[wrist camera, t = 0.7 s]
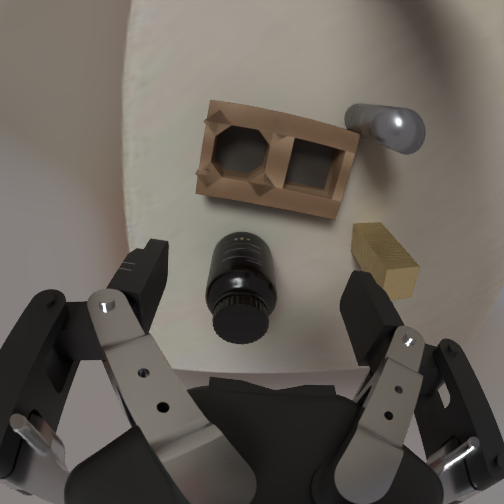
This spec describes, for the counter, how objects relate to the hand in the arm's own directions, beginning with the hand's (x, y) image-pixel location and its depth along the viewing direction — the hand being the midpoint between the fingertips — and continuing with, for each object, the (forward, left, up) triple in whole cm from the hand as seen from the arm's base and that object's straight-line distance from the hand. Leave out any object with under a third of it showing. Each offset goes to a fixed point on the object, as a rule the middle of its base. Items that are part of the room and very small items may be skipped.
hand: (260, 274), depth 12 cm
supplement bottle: (+10, +1, -20) cm, 22 cm away
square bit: (+5, +15, -20) cm, 25 cm away
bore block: (-2, +2, -20) cm, 20 cm away
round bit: (-8, +10, -20) cm, 23 cm away
